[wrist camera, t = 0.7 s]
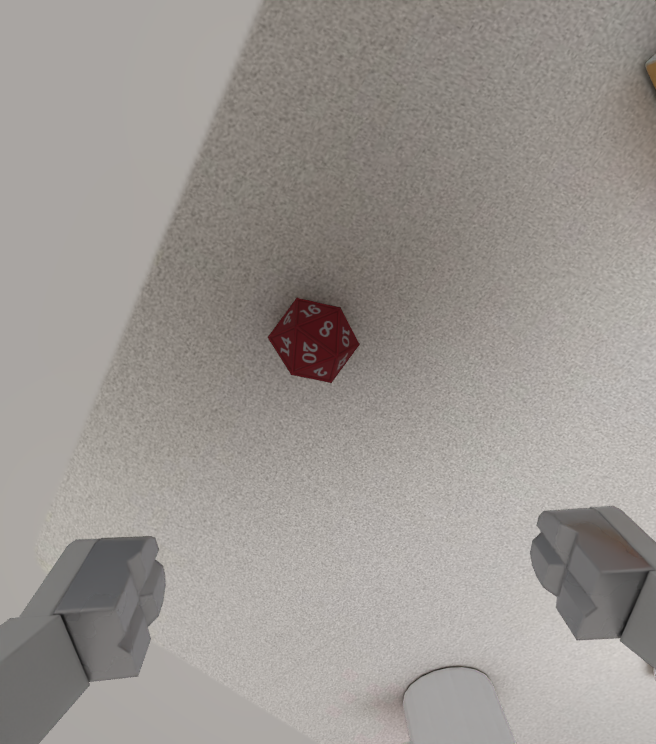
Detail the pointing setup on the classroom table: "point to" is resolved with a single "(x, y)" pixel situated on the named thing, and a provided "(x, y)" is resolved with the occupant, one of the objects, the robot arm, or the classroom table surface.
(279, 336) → the dice
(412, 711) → the mug
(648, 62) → the small box
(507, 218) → the classroom table surface
